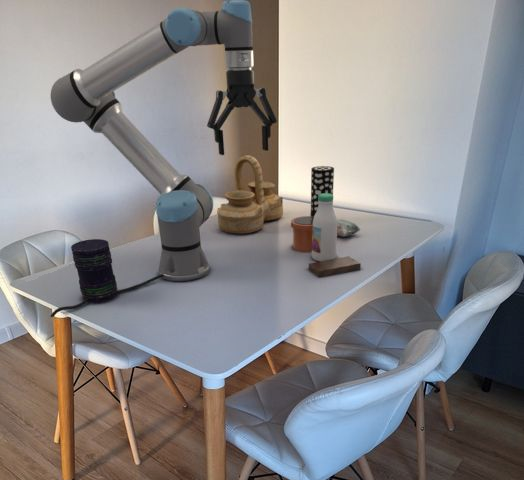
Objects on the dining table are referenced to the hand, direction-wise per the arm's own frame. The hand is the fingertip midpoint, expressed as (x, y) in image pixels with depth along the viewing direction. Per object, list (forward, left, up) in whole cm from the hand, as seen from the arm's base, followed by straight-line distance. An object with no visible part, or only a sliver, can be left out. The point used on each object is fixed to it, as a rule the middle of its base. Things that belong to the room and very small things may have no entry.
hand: (243, 152), depth 149 cm
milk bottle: (+22, -10, -33) cm, 41 cm away
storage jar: (-48, -9, -33) cm, 59 cm away
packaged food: (+38, +8, -33) cm, 51 cm away
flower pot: (+22, +2, -33) cm, 39 cm away
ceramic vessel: (+16, +37, -33) cm, 52 cm away
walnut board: (+20, -21, -33) cm, 43 cm away
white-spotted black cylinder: (+40, +26, -33) cm, 58 cm away
